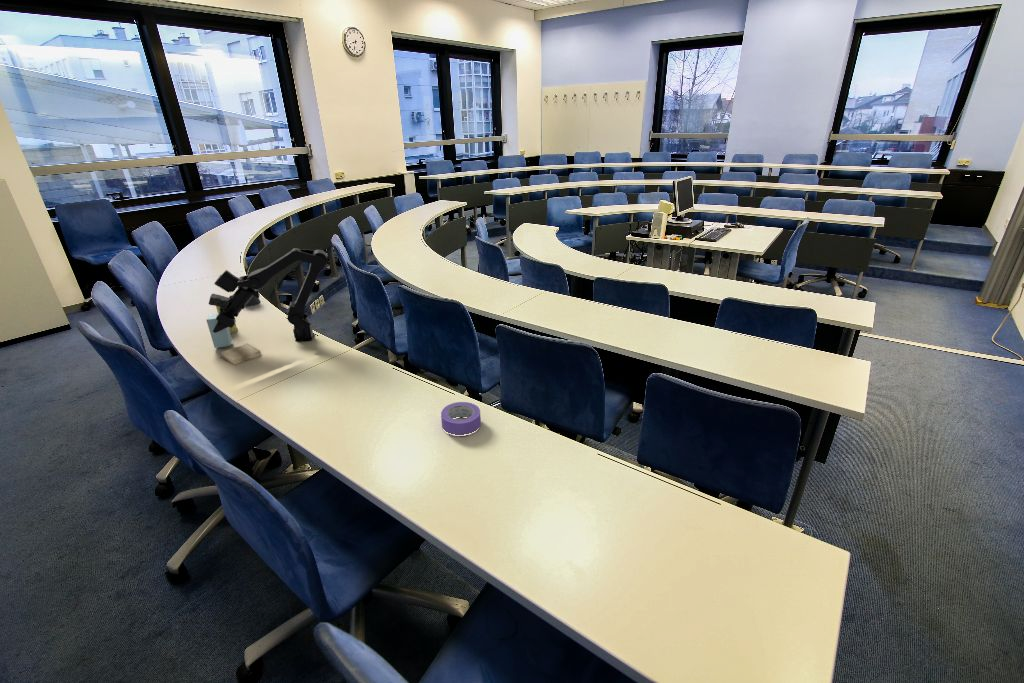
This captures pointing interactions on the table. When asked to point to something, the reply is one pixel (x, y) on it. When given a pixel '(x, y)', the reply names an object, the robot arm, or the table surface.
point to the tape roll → (460, 424)
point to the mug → (253, 301)
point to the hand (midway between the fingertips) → (215, 329)
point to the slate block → (218, 333)
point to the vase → (229, 327)
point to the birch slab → (241, 353)
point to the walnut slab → (238, 363)
